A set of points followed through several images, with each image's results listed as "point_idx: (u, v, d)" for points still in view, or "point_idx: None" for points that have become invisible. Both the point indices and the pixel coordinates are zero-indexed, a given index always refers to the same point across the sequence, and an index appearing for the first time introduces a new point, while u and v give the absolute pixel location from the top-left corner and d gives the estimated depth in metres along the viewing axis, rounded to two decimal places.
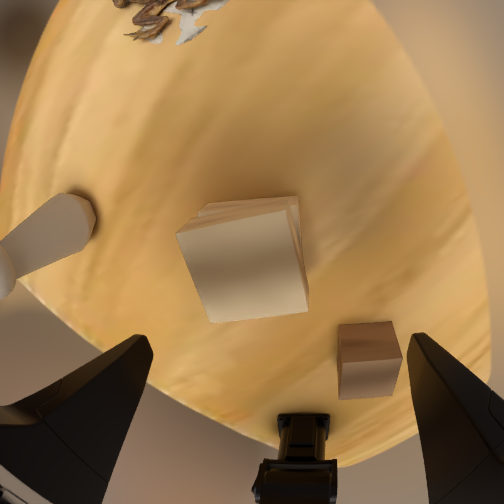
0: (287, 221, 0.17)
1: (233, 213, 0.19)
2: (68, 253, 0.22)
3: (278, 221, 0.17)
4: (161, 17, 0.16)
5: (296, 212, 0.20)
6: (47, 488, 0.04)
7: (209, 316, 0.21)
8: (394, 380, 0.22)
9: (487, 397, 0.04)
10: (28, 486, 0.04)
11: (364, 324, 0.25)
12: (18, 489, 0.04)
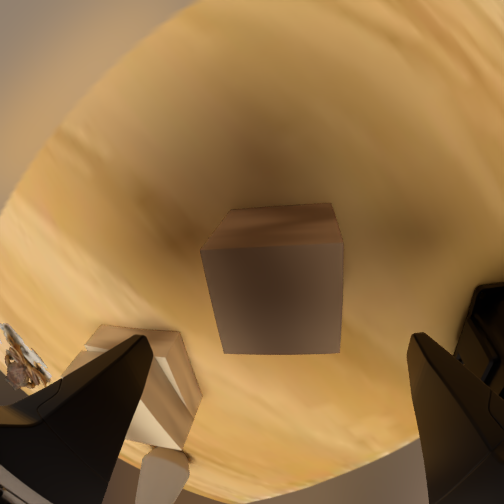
0: None
1: None
2: (173, 481, 0.24)
3: None
4: (31, 371, 0.26)
5: (89, 346, 0.18)
6: (47, 488, 0.04)
7: (173, 448, 0.17)
8: (278, 251, 0.10)
9: (487, 397, 0.04)
10: (28, 486, 0.04)
11: None
12: (18, 489, 0.04)
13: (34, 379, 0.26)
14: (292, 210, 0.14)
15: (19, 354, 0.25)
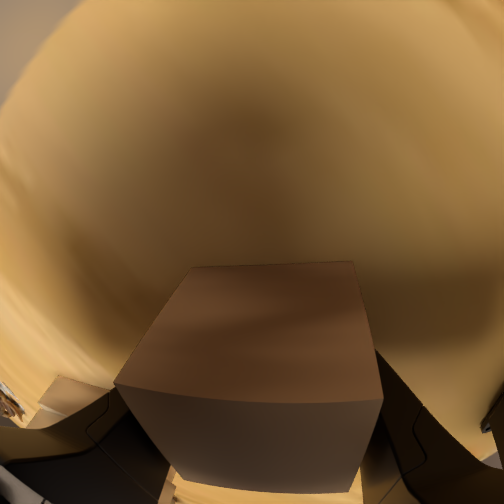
0: None
1: None
2: None
3: None
4: (5, 403, 0.21)
5: (42, 405, 0.13)
6: None
7: None
8: (251, 408, 0.05)
9: (415, 413, 0.05)
10: None
11: None
12: None
13: (9, 411, 0.21)
14: (286, 280, 0.08)
15: None
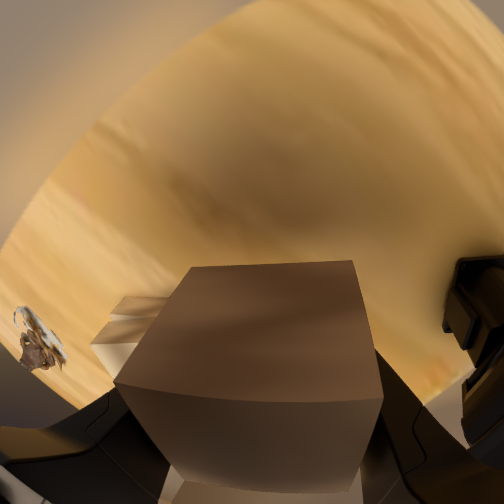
0: (95, 344, 0.19)
1: None
2: None
3: (97, 349, 0.19)
4: (48, 352, 0.29)
5: (114, 315, 0.21)
6: None
7: None
8: (251, 407, 0.05)
9: (415, 413, 0.05)
10: None
11: None
12: None
13: (50, 360, 0.30)
14: (286, 280, 0.08)
15: (38, 335, 0.28)
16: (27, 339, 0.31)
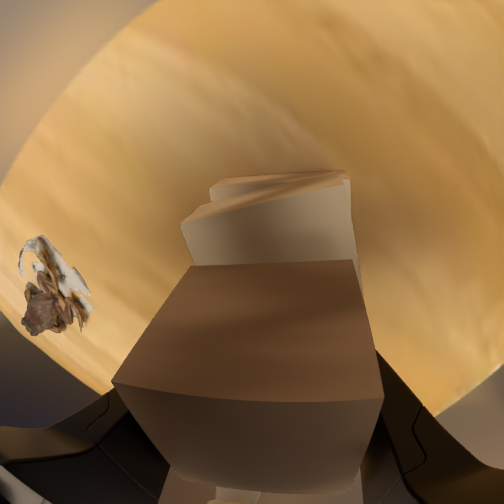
0: (194, 220, 0.12)
1: None
2: None
3: (195, 232, 0.13)
4: (65, 302, 0.23)
5: (218, 189, 0.15)
6: None
7: None
8: (250, 407, 0.05)
9: (415, 413, 0.05)
10: None
11: None
12: None
13: (67, 315, 0.23)
14: (286, 279, 0.08)
15: (53, 276, 0.21)
16: (34, 291, 0.25)
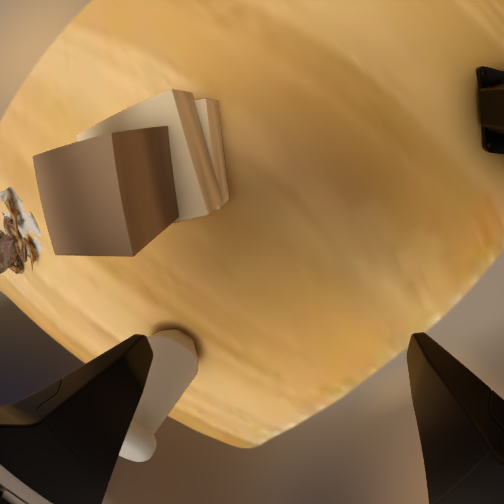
0: (84, 131, 0.15)
1: None
2: (177, 367, 0.23)
3: None
4: (21, 242, 0.25)
5: None
6: (47, 488, 0.04)
7: (197, 214, 0.16)
8: (71, 148, 0.10)
9: (487, 397, 0.04)
10: (28, 486, 0.04)
11: None
12: (18, 489, 0.04)
13: (22, 253, 0.26)
14: None
15: (14, 218, 0.24)
16: (2, 237, 0.27)
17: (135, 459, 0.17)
